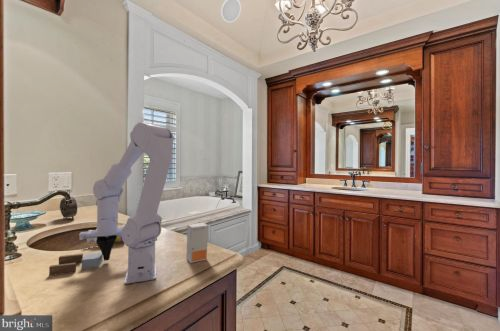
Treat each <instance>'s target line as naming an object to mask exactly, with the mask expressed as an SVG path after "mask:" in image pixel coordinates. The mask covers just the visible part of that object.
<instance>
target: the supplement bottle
mask: <svg viewBox="0 0 500 331" xmlns="http://www.w3.org/2000/svg"><path fill="white" fill-rule="evenodd" d="M125 225H126V224H118V228H123V227H124V226H125ZM94 230H97V228H96V229H94ZM94 230H93V229H89V230H88V231H94ZM86 241H87V242H86V243H93V242H94V243H95V244H96V245H97V243H96V241H97V238H90V239H86ZM121 242H123V240H122V236H117V238H116V240H115V242H114V243H121Z"/></svg>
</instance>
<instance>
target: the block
mask: <svg viewBox="0 0 500 331" xmlns="http://www.w3.org/2000/svg"><path fill="white" fill-rule="evenodd" d="M103 261H104V258H103V254H102V252H95V253H87V254H85V255H84V256H83V259H82V262H81V270H86V269H95V268H99V267H100V266H101V265H102V264H103V263H102V262H103Z"/></svg>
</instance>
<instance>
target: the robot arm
mask: <svg viewBox="0 0 500 331" xmlns="http://www.w3.org/2000/svg"><path fill="white" fill-rule="evenodd" d="M129 137H130V142H129V144H128V146H127V147H126V149H125V151H124V153H123V155H122V156H121V158H120V161H119V162H118V161H117V162H114V163H113V164H112V165H111V167H110V168H109V170H108V171H107V172H106V173H105V176H104V177H103V178H100V180H99V179H98V180H96V181H95V182H94V184H93V186H92V193H93V195H94V197H95V199H96V200H97V202H96V204H97V205H96V208H97V209H96V229H97V230H96V229H94V231H89V230H87V231H81V232H79V235H78V236H79V239H78V240H79V241H81V240H87V239H90V238H97V241H96V242H95V244H96V243H97V244H96V245H97V246H98V247H99V249H100V251H101V252H100V253H102V254H103V261H104V262H105V261H109V260H110V258H111V253H112V249H113V248H114V247H113V246H114V244H115V243H116V242H115V240H116V238H117V236H122V240H123V241H122V242H123V244H125V246H126V247H127V248H128V250H127V251H128V252H127V253H128V254H127V255H128V256H127V257H128V258H127V269H126V274H125V278H124V281H123V284H125V285H127V284H134V283H139V282H146V281H153V280H156V279H157V264H156V261H155V260H156V242H157V241H158V237H160V235H161V234H162V220H163V217H162V216H161V215H160V214H159V213H158V209H159V207H160V202H161V199H162V196H163V192H164V189H165V186H166V185H165V184H166V181H167V178H168V174H169V171H170V166H171V162H172V160H173V151H172V147H173V144H174V140H175V137H174V134H173V133H172V130H171V129H169V127H166V126H160V125H155V124H149V123H146V122H143V121H141V122H137V123H136V124H135V125H134V126H133V128H132V131H130V133H129ZM143 154H145V155H146V156H147V157H148V159H149V161H148V166H147V170H146V174H145V177H144V181H143V185H142V189H141V192H140V197H139V200H138V204H137V209H136V211H135V212H133V213H132V215H129V217H128V218H127V220H126V223H125V224H124V225H125V226H124V227H123V228H118V225H119V224H118V223H119V202H120V201H121V196H122V194H123V192H124V189H123V186H124V184H125V183H126V181H127V180H128V179H129V177H130V176H131V174H132V173H133V172H132V167H133V165H134V164H135V163H136V162H137V161H138V159H140V157H141V156H142V155H143Z"/></svg>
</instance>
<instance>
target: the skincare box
mask: <svg viewBox="0 0 500 331" xmlns="http://www.w3.org/2000/svg"><path fill="white" fill-rule="evenodd" d="M186 232H187V233H186V234H187V235H186V260H187V261H188V262H189V264H193V263H199V262H202V261H207V258H208V241H209V240H208V238H209V226H208V224H206V223H205V222H200V223H198V222H197V223H191V224H187V231H186Z"/></svg>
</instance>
